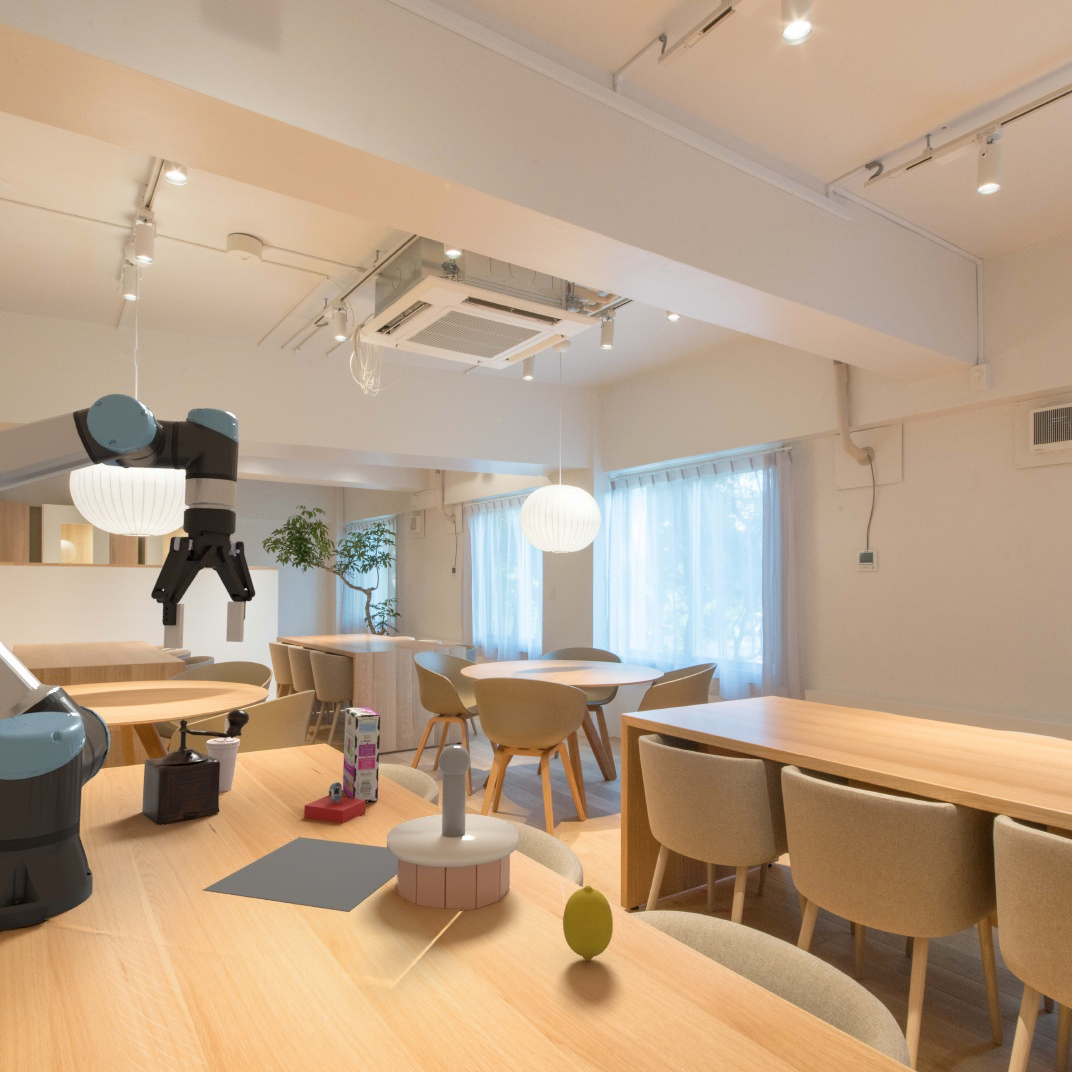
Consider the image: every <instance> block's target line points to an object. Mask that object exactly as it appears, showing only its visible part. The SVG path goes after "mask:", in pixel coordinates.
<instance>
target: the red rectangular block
mask: <svg viewBox="0 0 1072 1072" xmlns="http://www.w3.org/2000/svg"><path fill="white" fill-rule="evenodd" d="M342 794H343V785H342V784H341V783H340V782H339V781H338V782H333V783H332V784H331V785H330V786H329V789H328V795H326V796H323V797H321V798H319V799H317V800H314V801H312V802H309V803H307V804H305V805H304V809H303V810H304V813H303V818H307V819H313V820H319V821H327V822H332V823H338V824H339V823H340V824H344V823H346V822H347V821H349V820H353V818H355V817H363V816H362V815H364V814H365V815H366V804H367V802H366V800H360V799H353V798H349V797H345V796H344V797H343V795H342ZM365 815H364V816H365Z"/></svg>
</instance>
